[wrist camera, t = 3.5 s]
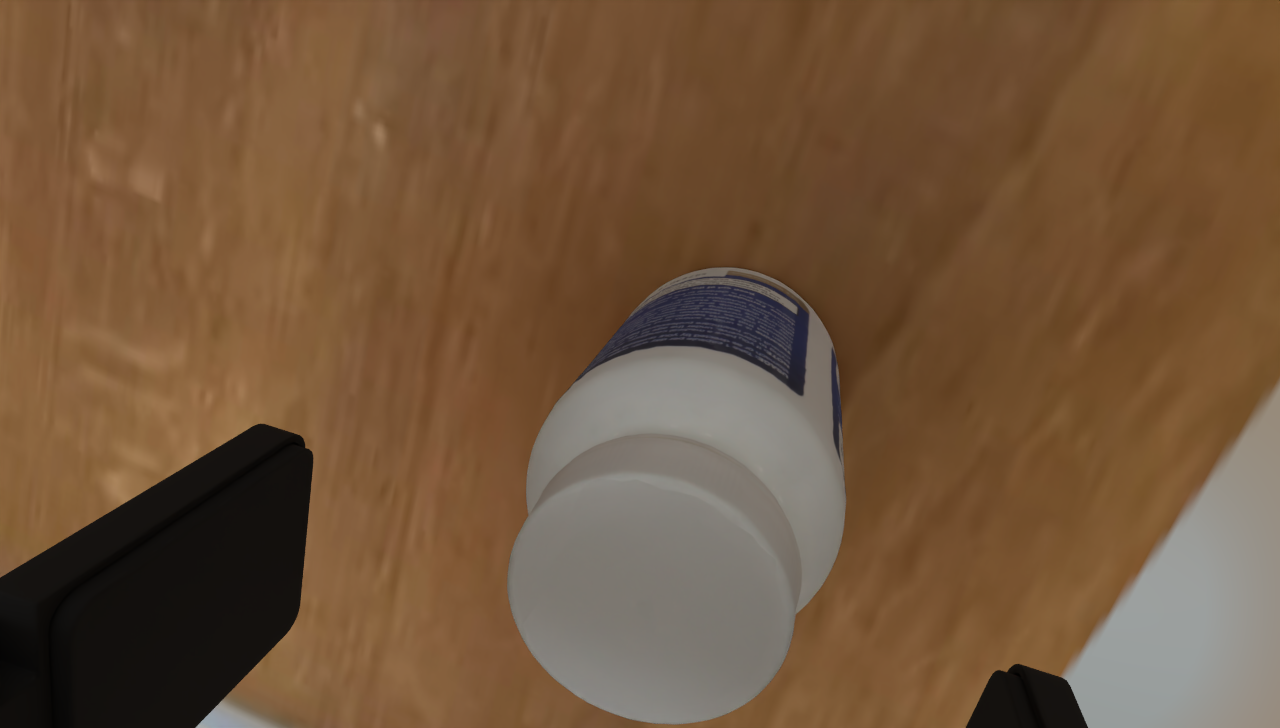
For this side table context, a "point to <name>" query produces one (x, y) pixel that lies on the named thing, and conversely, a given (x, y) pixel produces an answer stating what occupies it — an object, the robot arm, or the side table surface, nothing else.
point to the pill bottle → (684, 501)
